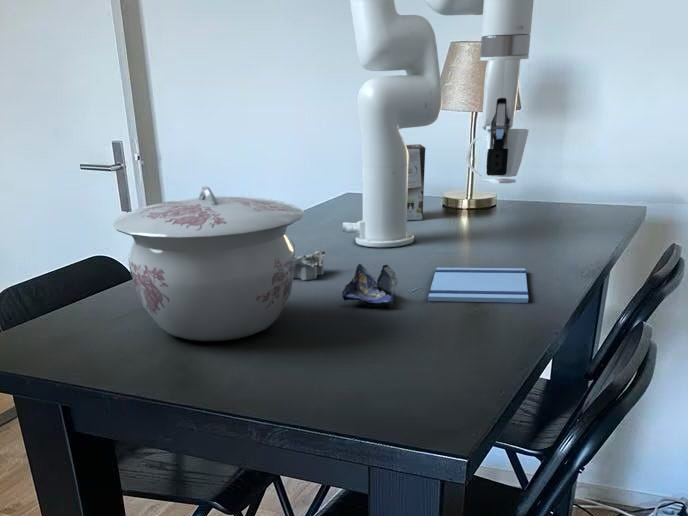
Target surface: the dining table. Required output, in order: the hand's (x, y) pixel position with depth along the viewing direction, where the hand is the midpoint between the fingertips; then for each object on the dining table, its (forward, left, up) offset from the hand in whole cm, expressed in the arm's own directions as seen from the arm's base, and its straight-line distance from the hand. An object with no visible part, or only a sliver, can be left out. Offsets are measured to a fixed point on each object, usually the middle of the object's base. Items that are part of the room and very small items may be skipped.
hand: (496, 171), depth 134 cm
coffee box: (-20, +59, -18) cm, 64 cm away
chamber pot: (-40, -34, -18) cm, 55 cm away
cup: (0, 0, -2) cm, 2 cm away
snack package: (-18, -16, -18) cm, 31 cm away
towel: (-1, -6, -18) cm, 19 cm away
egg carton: (-36, 0, -18) cm, 40 cm away
